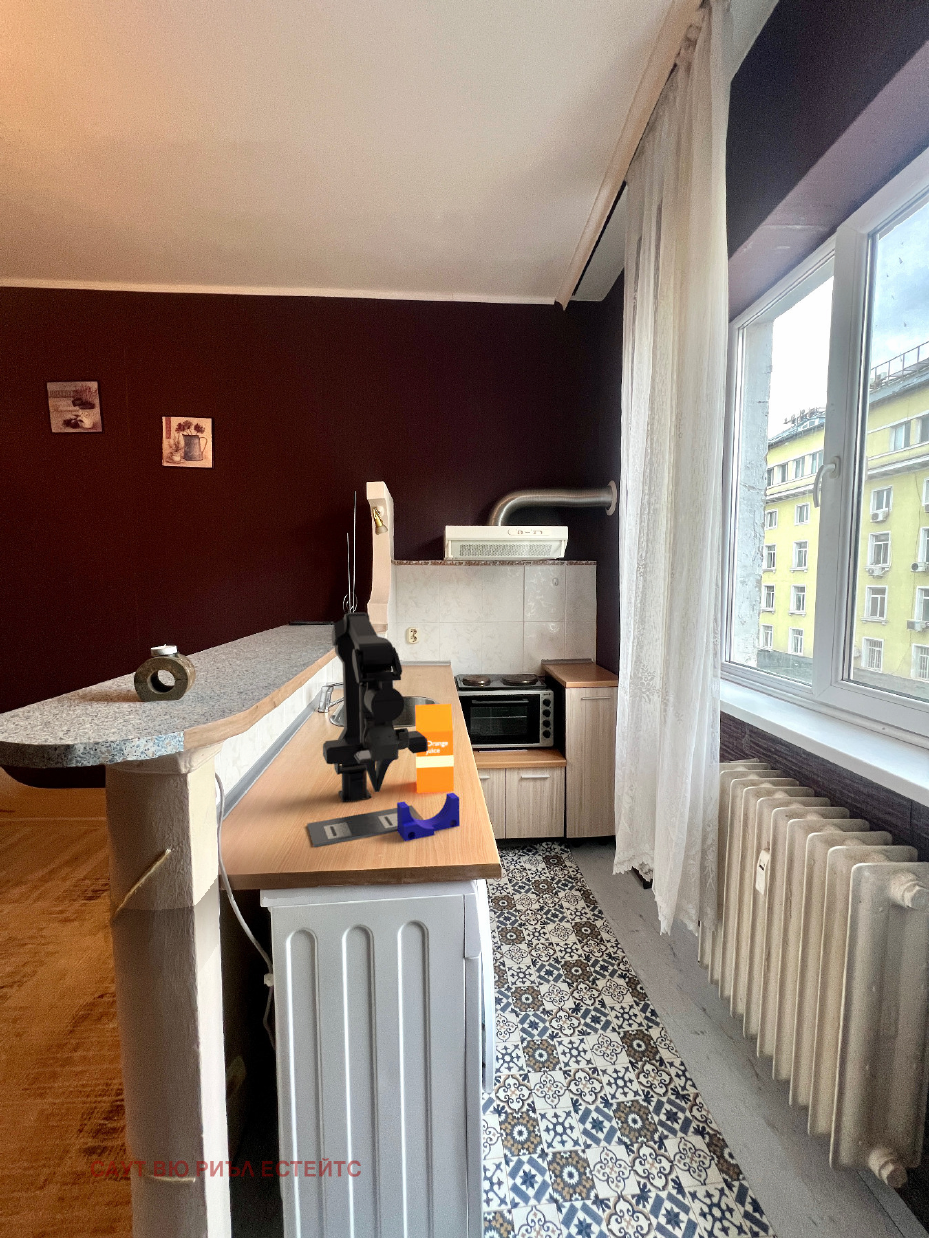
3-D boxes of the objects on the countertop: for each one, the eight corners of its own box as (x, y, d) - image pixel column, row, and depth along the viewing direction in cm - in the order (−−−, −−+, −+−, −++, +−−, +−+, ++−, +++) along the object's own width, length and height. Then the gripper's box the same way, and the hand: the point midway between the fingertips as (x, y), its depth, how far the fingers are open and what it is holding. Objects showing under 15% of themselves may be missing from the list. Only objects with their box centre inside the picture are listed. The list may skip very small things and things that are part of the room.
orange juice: (416, 781, 132) (415, 701, 131) (451, 779, 133) (450, 700, 132) (416, 793, 124) (415, 708, 123) (454, 791, 125) (453, 707, 124)
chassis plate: (307, 825, 107) (307, 822, 107) (411, 807, 116) (411, 804, 116) (313, 847, 98) (313, 843, 98) (426, 825, 107) (426, 822, 107)
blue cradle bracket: (404, 842, 100) (404, 811, 100) (397, 832, 104) (397, 802, 104) (462, 829, 105) (462, 800, 105) (453, 821, 109) (453, 792, 109)
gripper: (330, 724, 87) (332, 817, 88) (437, 713, 95) (438, 799, 96) (321, 710, 98) (323, 793, 99) (418, 701, 105) (419, 778, 106)
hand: (376, 791), depth 99 cm, fingers closed
